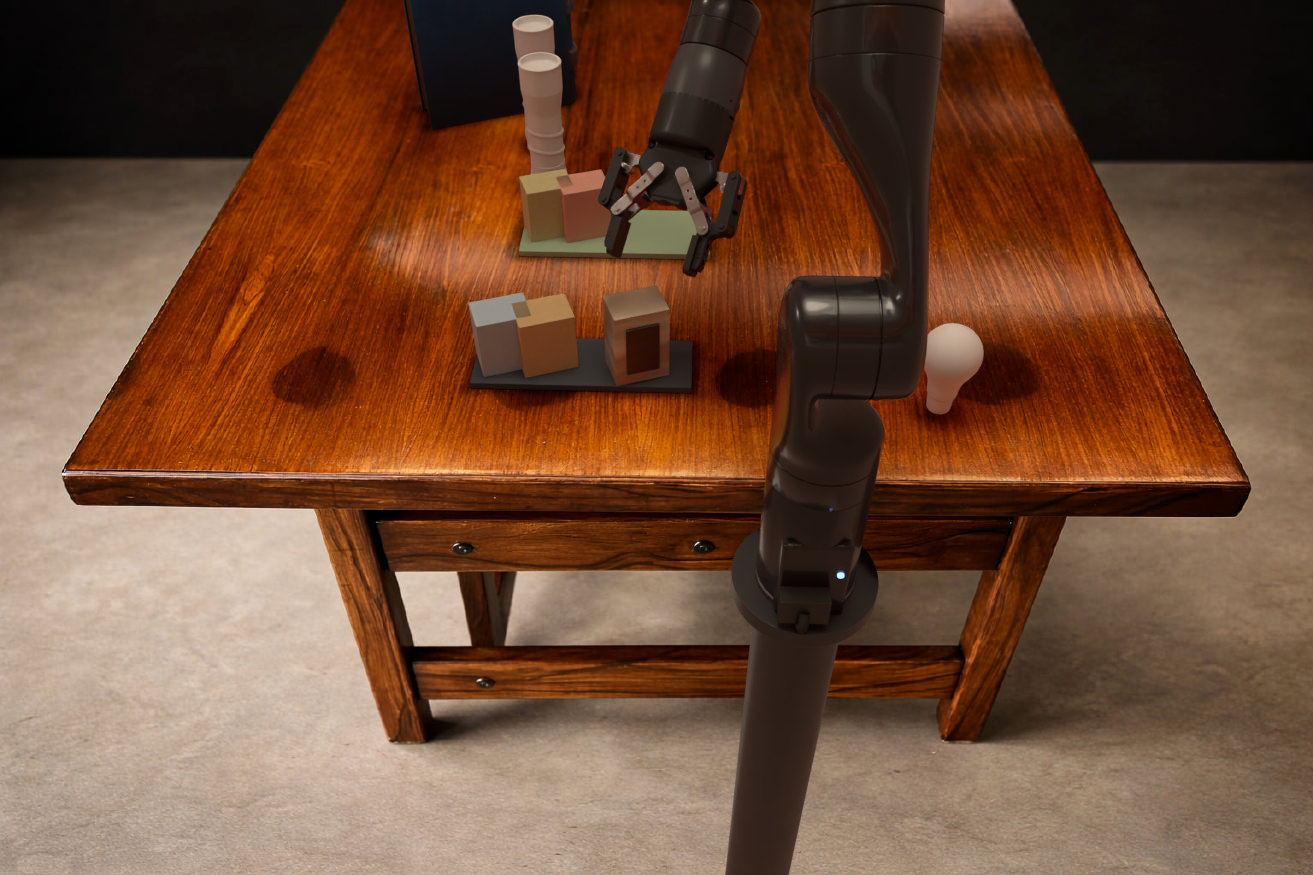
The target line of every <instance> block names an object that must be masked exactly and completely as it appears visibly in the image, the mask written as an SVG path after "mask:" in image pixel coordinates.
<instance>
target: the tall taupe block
mask: <svg viewBox="0 0 1313 875" xmlns="http://www.w3.org/2000/svg"><path fill="white" fill-rule="evenodd" d="M670 316H671V310H670V307H669V305H668V304H667V302H666V300H665V298H664V295H663V294H662V292H661V291H660V289H659V287H658V285H652V286H651V285H650V286H645V287H640V288H636V289H631V290H626V291H620V292H615V293H610V294H605V295H602V317H603V336H604V337H603V339H604V340H605V360H606V364H607V366H608V368H609V370H610V373H611V375H612V377H613V379H614V382H615V384H616V386H621V385H626V384H630V383H635V382H639V381H644V380H649V379H653V378H658V377H663V376H667V375H669V340H671V339H670V335H671V334H670V333H671V332H670V331H671V330H670V329H671V328H670V327H671V326H670V325H671V324H670V323H671V320H670V319H671V317H670Z"/></svg>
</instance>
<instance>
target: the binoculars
mask: <svg viewBox="0 0 1313 875" xmlns="http://www.w3.org/2000/svg"><path fill="white" fill-rule="evenodd" d="M512 26H513V32H514V42H515V51H516V55H517V59H518V68H519V78H520V88H521V93H522V97H523V103H522V104H523V106H524V111H525V113H524V124H525V127H524V136H525V139H526V143H527V144H526V145H527V150H528V151H529V154H530V175H531V174H537V173H543V172H549V171H555V170H562V169H566V171H567V172H568V169H567V166H566V158H565V150H566V145H565V143H564V136H563V134H564V131H565V129H564V127H563V121H562V106H561V101H562V88H563V85H562V71H561V59H560V58H559V57H558V56H557V55H555V54H554V51H555V44H554V30H553V21H552V20H551V19H550V18H549V17H546V16H542V15H527V16H522V17H520V18H517V19H516V20H515V21H514V22H513V24H512Z"/></svg>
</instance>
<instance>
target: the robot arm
mask: <svg viewBox="0 0 1313 875" xmlns="http://www.w3.org/2000/svg"><path fill="white" fill-rule="evenodd" d="M945 13H946V0H811V2H810V14H809V15H810V20H809V38H808V39H809V40H808V61H807V86H808V92H809V94H810V95H809V96H810V99H811V102H812V104H813V107H814V110H815V112H816V114H817V116H818V118H819V120H820V122H821V125H822V126H823V128H824V130H825V132H826V133H827V135H828V137H829V139H830V141H831V142H832V144H833V146H834V148H835V149H836V151H837V152H838V154H839V156H840V158H841V159H842V161H843V163H844V164H845V166H846V168H847V169H848V171H849V173H850V175H851V176H852V178H853V180H854V182H855V184H856V186H857V187H858V190H859V191H860V194H861V196H862V199H863V200H864V203H865V206H866V208H867V211H868V212H869V215H870V218H871V220H872V224H873V226H874V230H875V236H876V239H877V245H878V251H879V262H880V275H878V276H875V275H874V276H872V275H815V274H813V275H799V276H796V277H794V278H793V279H792V280H791V281H790V282H789V283H788V284H787V286H786V288H785V290H784V292H783V295H782V298H781V300H780V304H779V311H778V317H777V331H776V361H775V363H776V364H775V366H776V367H775V384H774V385H775V386H774V396H773V407H772V415H771V416H772V417H771V426H770V433H769V444H768V452H767V461H766V470H765V479H764V489H763V498H762V507H761V516H760V526H759V528H760V533H759V544H758V554H757V558H756V563H755V577H756V581H757V584H758V586H759V588H760V590H761V591H762V593H763V594H764V595H765V596H766V597H767V598H768V599H769V600H770V601H771V602H772V603H773V606H774V612H775V613H777V616H778V623H794V625H795V628H796V630H797V631H798V632H799V633H802V634H803V633H805V632H807V630H808V627H809V624H828V621H829V616H830V615H841V614H842V610H843V605H844V602H845V601H846V600H847V599H848V598H849V597H850V595H851V593H852V591H853V589H854V585H855V580H856V571H857V566H858V561H859V556H860V551H861V547H862V546H863V542H864V538H865V533H866V528H867V527H866V526H867V523H868V519H869V514H870V510H871V504H872V501H873V500H872V499H873V496H874V492H875V486H876V482H877V478H878V474H879V468H880V464H881V461H882V460H881V459H882V455H883V451H884V447H885V441H886V431H885V426H884V425H885V424H884V421H883V419H882V417H881V415H880V414H879V412H878V411H877V409H876V408H875V407H874V406H873V405H872V403H870V402H869V401H902V400H907V399H908V398H909V399H910V397H912V396H913V395H914V394H915V392H916V391H917V390H918V389H919V386H920V384H921V382H922V379H923V374H924V372H925V370H924V366H925V360H926V353H927V342H928V334H929V311H930V310H929V309H930V308H929V307H930V306H929V304H930V301H929V300H930V299H929V298H930V297H929V295H930V291H929V290H930V197H931V196H930V195H931V179H932V178H931V177H932V176H931V175H932V160H933V149H934V137H935V128H936V120H937V118H936V117H937V109H938V108H937V107H938V98H939V88H940V80H941V69H942V61H943V60H942V58H943V45H944V44H943V43H944V29H945ZM761 24H762V14H761V11H760V8H758V6H757V5H756V4H755V3H754V2H753V1H752V0H691V1H690V5H689V10H688V13H687V17H686V21H685V24H684V27H683V31H682V33H681V37H680V40H679V44H678V47H677V49H676V53H675V55H674V56H673V59H672V61H671V64H670V66H669V69H668V71H667V74H666V78H665V81H664V84H663V88H662V91H661V94H660V98H659V100H658V104H657V108H656V111H655V114H654V116H653V121H652V125H651V128H650V131H649V135H648V143H647V147H646V148H645V150H644V152H643V153H642V154H641V155H640V154H637V153H633V152H629V151H628V150H627V149H626V148H624V147H623V146H618V147H616V148H615V149H614V151H613V155H612V157H611V160H610V163H609V166H608V169H607V171H606V174H605V180H604V182H603V185H602V188H601V191H600V194H599V196H598V202H599V204H601V205H602V206H604V207H605V208H606V209H608V210H609V211H610V212H611V220H610V223H609V227H608V230H607V233H606V237H605V240H604V246H605V247H606V252H607V254H609V255H611V256H613V257H617V258H616V259H621V258H620V257H621V256H622V253H623V249H624V246H625V243H626V240H627V236H628V233H629V230H630V226H631V223H630V222H628V221H629V220H630V219H632V218H633V217H634V216H635V215H636V214H637V213H639V212H640V211H641V210H647V209H648V208H650V207H651V206H652V205H653V204H655V203H656V204H657V205H659V206H663V207H675V208H676V209H678V210H679V211H689V213H690V214H691V216H692V219H693V222H694V225H695V228H696V231H697V234H696V235H692V238H691V241H690V245H689V248H688V251H687V255H686V258H685V259H684V261H683V264H682V268H681V272H682V274H683V275H685V276H687V277H690V278H693V279H694V278H696V277H697V275H698V274H699V273H700V274H701V273H702V272H703V271H704V270H705V267H706V265H707V261H708V260H707V257H708V254H709V251H710V252H711V248H712V244H713V243H714V241H716V240H719V239H728V240H731V239H733V238H734V237H735V235H736V232H737V228H738V224H739V221H740V216H741V212H742V209H743V205H744V200H745V196H746V193H747V188H748V181H747V179H746V178H745V176H743V175H742V174H741V173H740V172H739V171H738V170H735V169H733V170H731V171H729V172H726V171H721V170H720V169H721V163H722V161H723V160H724V157H725V154H726V150H727V147H728V144H729V140H730V138H731V134H732V131H733V127H734V124H735V120H736V116H737V114H738V113H739V111H740V107H741V100H742V97H743V94H744V89H745V83H746V78H747V72H748V68H749V65H750V62H751V59H752V55H753V52H754V49H755V45H756V42H757V39H758V36H759V32H760V28H761ZM637 169H638V171H639V174H640V177H639V178H638V179H637V180H635V182H634V183H633V184H631V185H630V186H629V187H628V188H627V185H628V182H629V179H630V177H631V176H632V175H635V173H636V171H637ZM718 186H719V192H720V193H721V194H722V196H721V199H720V200H721V201H720V204H719V208H718V212H717V217H716V221H715V222H714V220H713V218H712V217H713V214H712V212H711V208H710V205H709V202H708V200H707V197H706V196H708V195H709V194H710V193H711V192H712V191H713V190H714V189H716V188H717V187H718ZM626 188H627V189H626ZM625 191H626V193H625ZM624 193H625V194H624Z"/></svg>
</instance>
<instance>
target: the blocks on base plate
mask: <svg viewBox="0 0 1313 875" xmlns="http://www.w3.org/2000/svg"><path fill="white" fill-rule="evenodd" d="M467 305H468V309H469V310H468V311H469V316H470V321H471V328H472V333H473V340H474V346H475V353H476V356H475V360H474V364H473V368H472V372H471V376H470V380H469V386H470V389H490V390H532V391H533V390H535V391H540V390H542V391H574V392H575V391H578V392H579V391H580V392H581V391H582V392H583V391H584V392H619V393H620V392H621V393H623V392H624V393H625V392H627V393H666V394H692V391H693V390H692V385H693V382H692V381H693V377H692V376H693V374H692V373H693V340H672V339H670V340H669V375H667V376H663V377H658V378H653V379H649V380H644V381H639V382H635V383H630V384H626V385H621V386H616V384H615V382H614V379H613V377H612V375H611V373H610V370H609V368H608V366H607V364H606V360H605V340H604V338H577V327H576V316H575V314H574V311H573V309H572V307H571V305H570V302H569V300H568V298H567V296H566V293H564V292H563V293H558V294H553V295H548V296H542V297H537V298H533V299H532V298H531V299H526V296H525V293H524V292H517V293H512V294H506V295H502V296H497V297H492V298H491V297H490V298H487V299H481V300H475V301H471V302H468V304H467Z"/></svg>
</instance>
